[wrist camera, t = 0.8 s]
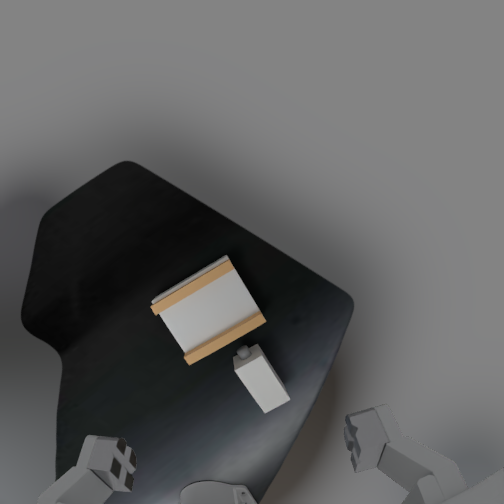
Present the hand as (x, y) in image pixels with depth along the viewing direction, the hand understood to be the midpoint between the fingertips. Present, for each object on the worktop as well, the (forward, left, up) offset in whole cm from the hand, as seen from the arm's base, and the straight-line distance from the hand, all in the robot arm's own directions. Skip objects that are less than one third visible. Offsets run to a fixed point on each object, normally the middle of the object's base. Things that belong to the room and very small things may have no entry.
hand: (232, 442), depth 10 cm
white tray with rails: (-3, +4, -43) cm, 44 cm away
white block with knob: (-18, +3, -43) cm, 47 cm away
